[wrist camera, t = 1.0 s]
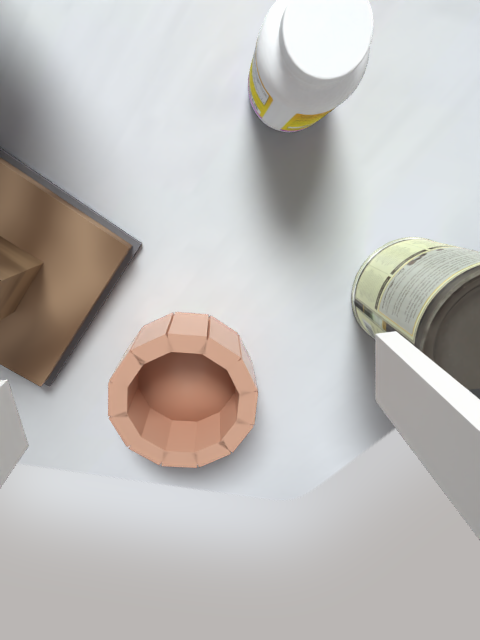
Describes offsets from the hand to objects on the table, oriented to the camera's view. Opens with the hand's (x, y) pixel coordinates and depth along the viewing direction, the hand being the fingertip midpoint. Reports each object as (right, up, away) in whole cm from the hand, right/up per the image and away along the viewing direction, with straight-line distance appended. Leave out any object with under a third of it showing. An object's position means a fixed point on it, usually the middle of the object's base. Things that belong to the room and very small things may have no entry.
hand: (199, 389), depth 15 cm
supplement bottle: (+5, +21, +18) cm, 28 cm away
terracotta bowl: (-3, -3, +25) cm, 25 cm away
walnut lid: (-18, +7, +21) cm, 28 cm away
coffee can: (+17, +5, +24) cm, 30 cm away
